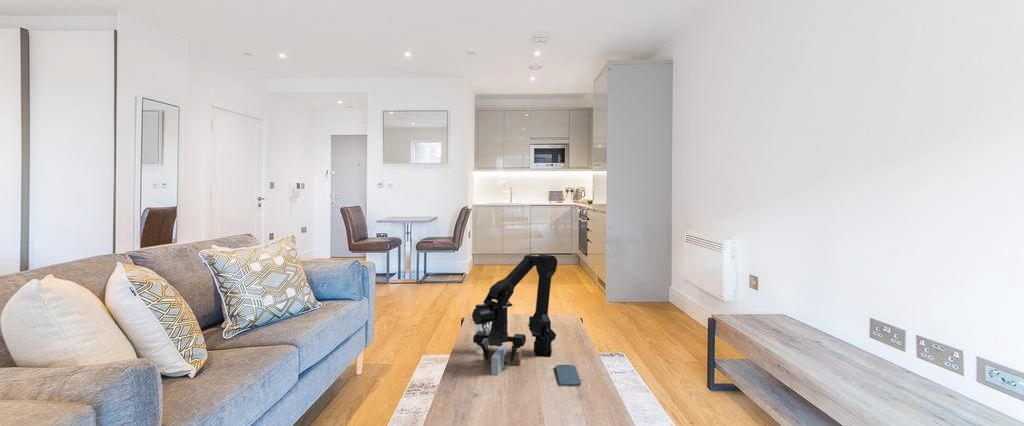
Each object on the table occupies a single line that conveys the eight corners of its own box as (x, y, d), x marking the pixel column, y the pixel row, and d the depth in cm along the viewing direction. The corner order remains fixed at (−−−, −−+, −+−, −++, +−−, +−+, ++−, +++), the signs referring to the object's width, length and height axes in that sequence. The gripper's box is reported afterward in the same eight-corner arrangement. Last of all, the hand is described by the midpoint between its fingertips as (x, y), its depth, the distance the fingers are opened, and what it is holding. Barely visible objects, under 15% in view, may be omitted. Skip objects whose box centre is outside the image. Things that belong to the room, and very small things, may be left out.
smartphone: (558, 383, 141) (554, 364, 156) (558, 388, 141) (554, 369, 156) (581, 384, 141) (575, 364, 155) (581, 389, 141) (575, 369, 156)
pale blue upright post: (507, 360, 163) (507, 344, 163) (498, 375, 149) (498, 358, 149) (500, 359, 163) (500, 344, 163) (491, 374, 150) (491, 357, 149)
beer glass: (489, 356, 167) (489, 318, 166) (472, 354, 168) (472, 317, 168) (493, 349, 174) (493, 313, 173) (477, 348, 175) (477, 312, 175)
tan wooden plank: (520, 363, 160) (520, 350, 160) (519, 365, 158) (519, 352, 157) (484, 360, 163) (484, 347, 163) (483, 362, 160) (483, 349, 160)
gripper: (468, 324, 150) (468, 368, 150) (520, 327, 146) (520, 372, 146) (477, 315, 161) (477, 356, 161) (526, 318, 157) (526, 360, 157)
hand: (499, 361), depth 156 cm, fingers open, 9 cm apart
